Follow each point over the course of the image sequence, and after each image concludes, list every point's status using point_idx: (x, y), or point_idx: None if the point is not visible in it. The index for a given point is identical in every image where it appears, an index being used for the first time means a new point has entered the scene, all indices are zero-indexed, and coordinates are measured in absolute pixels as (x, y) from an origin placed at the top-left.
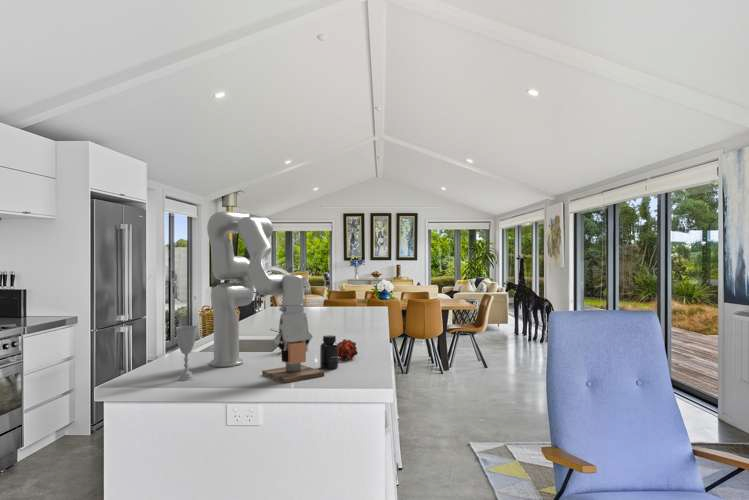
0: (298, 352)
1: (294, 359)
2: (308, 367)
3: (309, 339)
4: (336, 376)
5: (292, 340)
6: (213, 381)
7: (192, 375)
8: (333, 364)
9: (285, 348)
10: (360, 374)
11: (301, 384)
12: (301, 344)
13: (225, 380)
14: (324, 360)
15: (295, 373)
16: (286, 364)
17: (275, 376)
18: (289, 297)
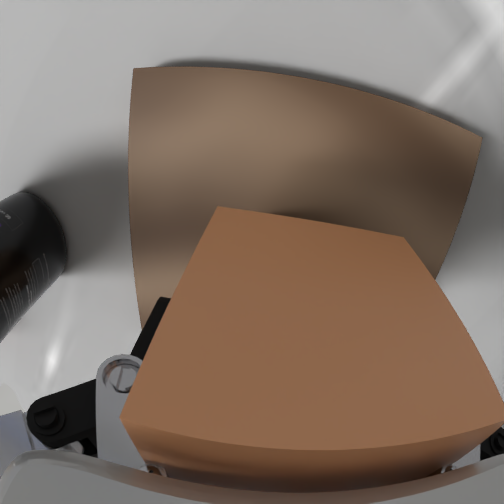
0: (333, 294)
1: (374, 252)
2: (142, 264)
3: (18, 427)
4: (105, 19)
5: (473, 496)
6: (500, 369)
7: None
8: (12, 199)
9: None
10: (16, 10)
11: (422, 24)
12: (260, 407)
13: (487, 362)
14: (29, 247)
15: (338, 189)
16: None
17: (443, 250)
18: None
